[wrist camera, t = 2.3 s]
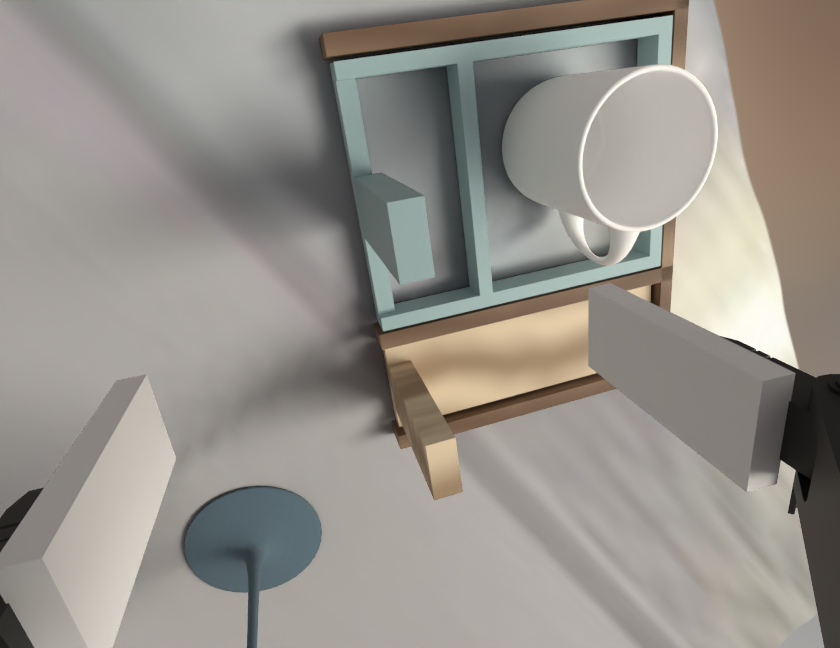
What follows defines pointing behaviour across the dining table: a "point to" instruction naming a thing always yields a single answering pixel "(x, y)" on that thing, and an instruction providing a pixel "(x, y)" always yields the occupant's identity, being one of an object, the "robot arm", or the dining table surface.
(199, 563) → the cocktail glass
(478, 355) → the light wood drawer
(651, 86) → the mug
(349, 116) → the teal divided frame
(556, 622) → the dining table surface
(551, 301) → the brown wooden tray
